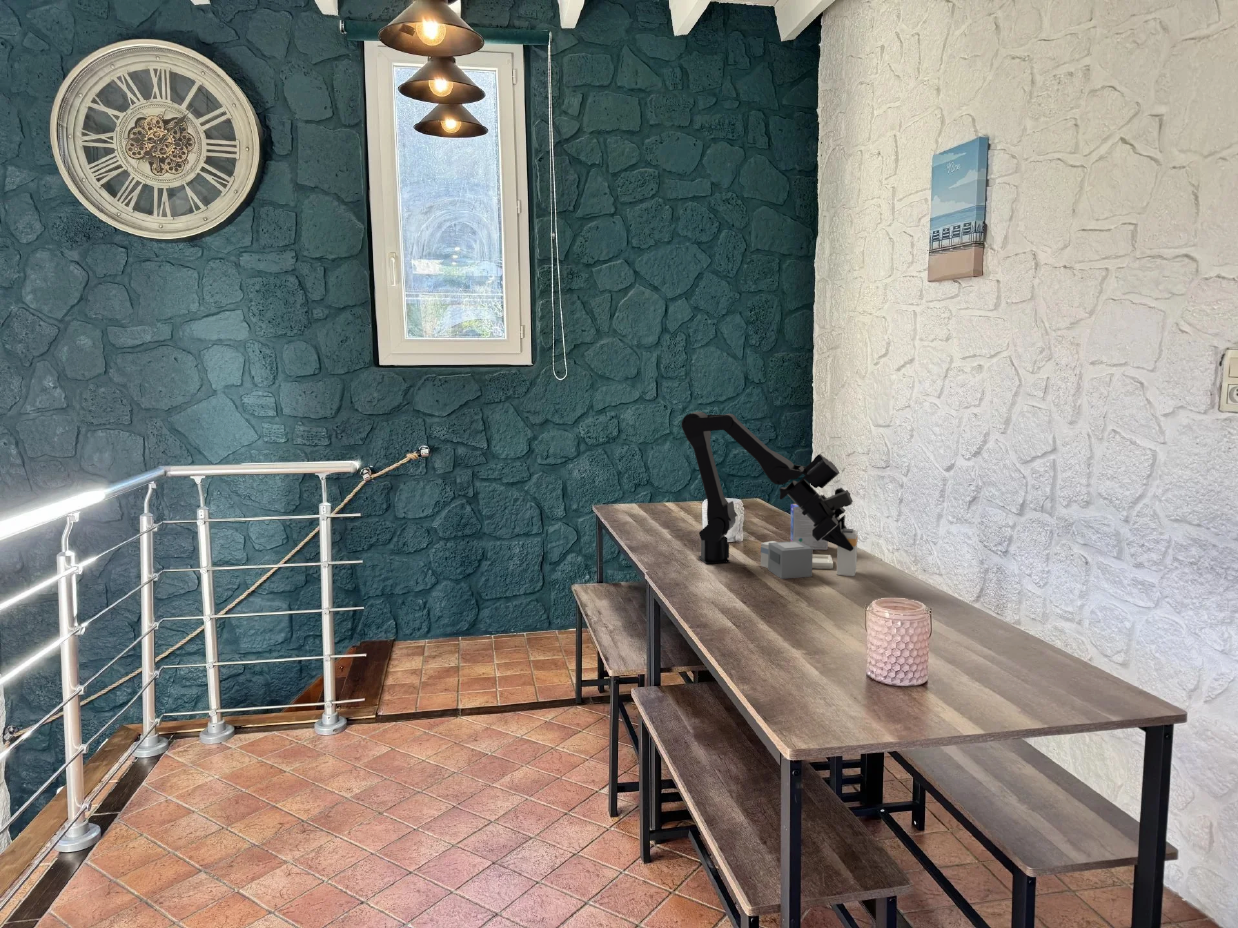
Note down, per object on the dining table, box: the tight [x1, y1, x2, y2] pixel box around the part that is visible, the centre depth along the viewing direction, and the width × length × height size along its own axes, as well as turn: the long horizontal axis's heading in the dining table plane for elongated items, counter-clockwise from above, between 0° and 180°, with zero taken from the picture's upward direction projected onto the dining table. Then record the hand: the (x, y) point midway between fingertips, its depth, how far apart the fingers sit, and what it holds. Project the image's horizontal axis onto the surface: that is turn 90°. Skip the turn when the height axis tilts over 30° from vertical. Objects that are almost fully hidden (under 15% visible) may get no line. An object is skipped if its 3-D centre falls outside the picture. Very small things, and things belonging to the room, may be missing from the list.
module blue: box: [760, 540, 777, 569], centre depth 208 cm, size 4×4×6 cm
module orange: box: [836, 527, 859, 577], centre depth 201 cm, size 4×4×11 cm
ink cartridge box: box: [790, 503, 829, 550], centre depth 226 cm, size 10×6×14 cm, turn 89°
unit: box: [767, 540, 813, 580], centre depth 201 cm, size 8×8×7 cm
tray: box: [812, 554, 834, 570], centre depth 210 cm, size 8×8×2 cm
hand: (853, 547), depth 200 cm, fingers closed on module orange, 4 cm apart
